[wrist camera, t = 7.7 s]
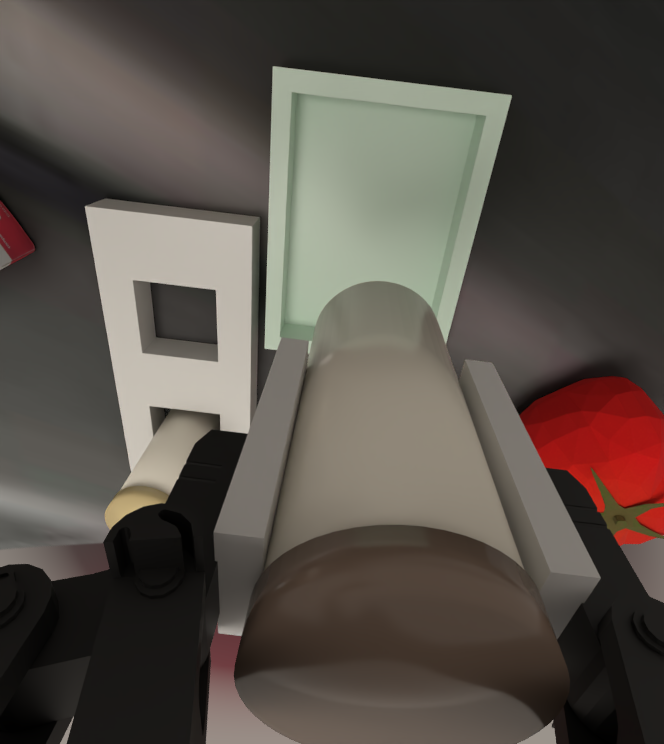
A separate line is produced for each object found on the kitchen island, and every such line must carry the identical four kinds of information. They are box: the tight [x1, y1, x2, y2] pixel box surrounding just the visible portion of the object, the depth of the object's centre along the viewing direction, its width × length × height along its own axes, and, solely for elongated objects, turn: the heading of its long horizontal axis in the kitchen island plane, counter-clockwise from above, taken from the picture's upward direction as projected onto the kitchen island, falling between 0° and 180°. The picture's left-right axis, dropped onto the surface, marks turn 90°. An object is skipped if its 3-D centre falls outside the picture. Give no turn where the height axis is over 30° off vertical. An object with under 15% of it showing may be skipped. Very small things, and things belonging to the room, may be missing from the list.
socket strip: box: [85, 198, 260, 530], centre depth 30 cm, size 24×10×11 cm, turn 174°
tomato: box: [519, 376, 664, 546], centre depth 31 cm, size 11×13×10 cm
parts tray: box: [265, 66, 512, 354], centre depth 28 cm, size 16×12×3 cm
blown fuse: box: [234, 281, 570, 744], centre depth 11 cm, size 5×5×11 cm
